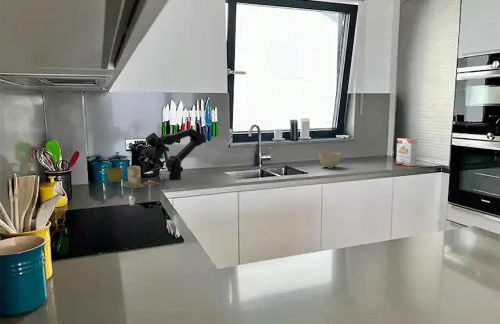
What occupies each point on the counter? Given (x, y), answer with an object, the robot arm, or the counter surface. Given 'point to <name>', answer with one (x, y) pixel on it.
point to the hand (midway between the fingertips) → (142, 173)
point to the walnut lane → (132, 185)
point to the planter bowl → (329, 159)
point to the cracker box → (406, 151)
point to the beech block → (134, 175)
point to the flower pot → (114, 174)
